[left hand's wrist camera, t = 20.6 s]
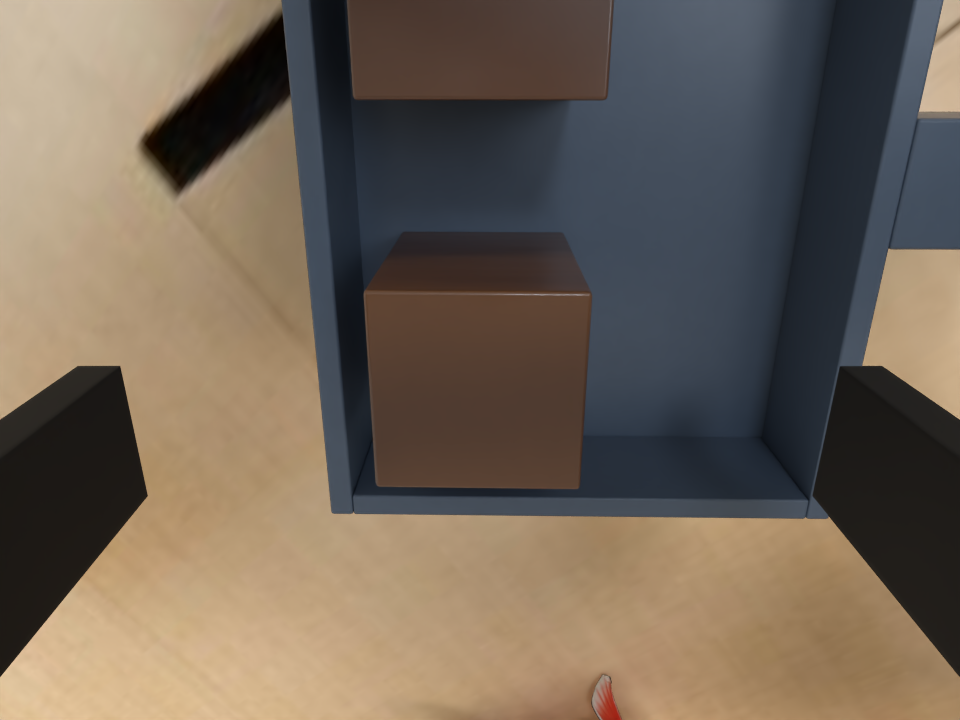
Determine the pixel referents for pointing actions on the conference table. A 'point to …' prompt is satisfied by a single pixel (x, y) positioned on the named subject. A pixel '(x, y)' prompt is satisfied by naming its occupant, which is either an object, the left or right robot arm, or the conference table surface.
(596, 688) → the fish
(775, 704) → the conference table surface
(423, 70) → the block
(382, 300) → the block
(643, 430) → the tray
